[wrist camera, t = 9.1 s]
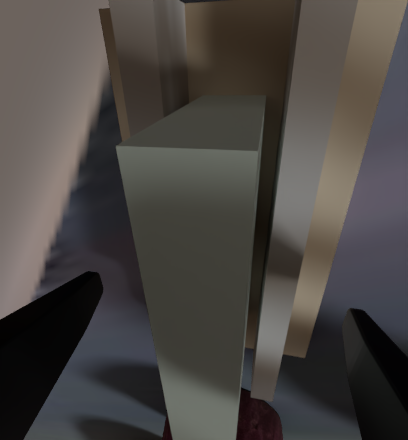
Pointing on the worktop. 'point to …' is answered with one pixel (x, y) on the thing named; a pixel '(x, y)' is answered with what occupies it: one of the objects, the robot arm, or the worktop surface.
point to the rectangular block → (197, 251)
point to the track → (268, 126)
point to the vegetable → (249, 420)
